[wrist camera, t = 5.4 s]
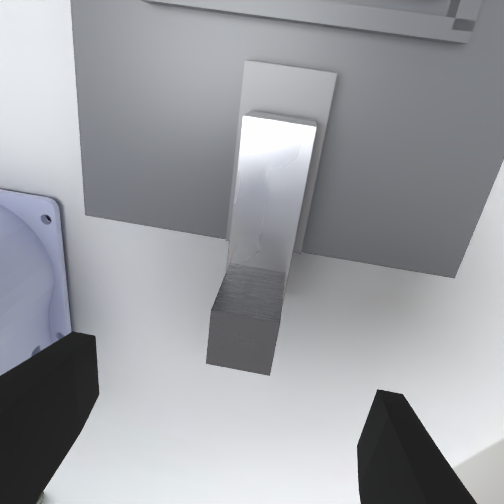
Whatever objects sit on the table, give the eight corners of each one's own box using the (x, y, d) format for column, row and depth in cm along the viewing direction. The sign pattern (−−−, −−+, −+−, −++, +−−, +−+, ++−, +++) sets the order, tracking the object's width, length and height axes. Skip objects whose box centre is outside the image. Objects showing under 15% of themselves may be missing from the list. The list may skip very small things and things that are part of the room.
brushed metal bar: (274, 336, 17) (263, 421, 13) (224, 327, 17) (198, 408, 13) (315, 120, 13) (318, 146, 9) (250, 110, 13) (223, 131, 9)
